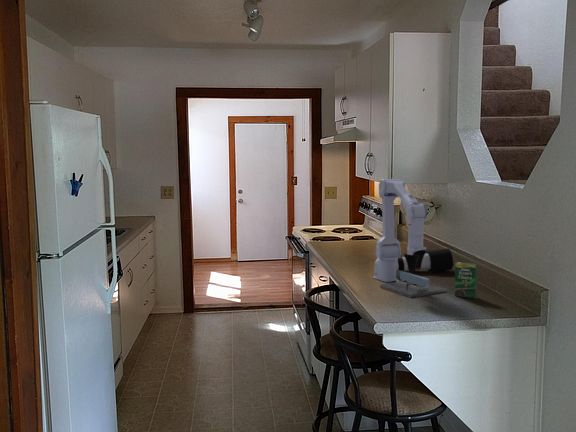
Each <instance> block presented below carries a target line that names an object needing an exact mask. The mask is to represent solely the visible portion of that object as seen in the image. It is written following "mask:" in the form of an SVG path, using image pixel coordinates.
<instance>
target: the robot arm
mask: <svg viewBox="0 0 576 432" xmlns="http://www.w3.org/2000/svg"><path fill="white" fill-rule="evenodd" d="M378 198H380V199H381V202H382V203H381V207H382V209H381V210H382V213H381V215H382V217H381V219H382V237H380V238H379V239H378V240H377V241H376V246H375V256H376V260H375V261H374V271H373V272H374V276H372V279H375V280H376V279H377V280H378V281H379V280H380V281H382V282H385V283H391V282H397V278H396V260H398V258H401V255H402V248H401V243H400V240H399V239H397V238H396V237H395V200H396V199H398V198H399V200H400V204H401V205H402V207H403V208H404V210H405V211H406V212H405V215H406V222H407V224H408V229H407V231H408V233H407V235H408V236H407V249H406V250H407V253H406V252H405V253H403V257H405V259H406V261H407V265H408V270H409V271H408V273H412V274H413V273H415V272H416V271H417V270H416V268H417V269H420V268H421V264H422V260H423V257H424V255H425V253H426V251H427V247H426V246H424V233H425V232H424V229H425V220H426V218H427V216H428V207H427V205H426V204H425V203H420V202H419V200H417V198H416V197H415V196H414V195H413V193H409V192H408V190H407V189H406V182H405V180H404V178H381V179H380V181H379V183H378Z"/></svg>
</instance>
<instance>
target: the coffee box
mask: <svg viewBox="0 0 576 432" xmlns="http://www.w3.org/2000/svg"><path fill="white" fill-rule="evenodd" d="M454 267H455V268H454V297H459V296H460V297H461V298H469V299H476V298H477V292H478V291H477V289H478V286H477V285H478V284H477V283H478V263H470V262H469V263H468V262H458V261H456V262H455V263H454Z"/></svg>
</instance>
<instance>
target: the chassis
mask: <svg viewBox="0 0 576 432" xmlns="http://www.w3.org/2000/svg"><path fill="white" fill-rule="evenodd" d="M379 286H380V288H381V289H384V290H387V291H390V292H392V293H396V294H398V295H401V296H404V297H408V298H409V299H410V298H411V299H412V298H417V297H423V296H427V295H433V294H440V293H444V292H447V290H448V289H447V287H446V288H445V287H443V286H441V285H440V286H439V285H437V284H433V283H430V282H429V286H426V287H425V286H421V285H418V284H415V283H412V282H408V281H405V280H402V279H397V281H392V282H386V283H382V284H380V285H379Z"/></svg>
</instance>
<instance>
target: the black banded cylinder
mask: <svg viewBox="0 0 576 432" xmlns="http://www.w3.org/2000/svg"><path fill="white" fill-rule="evenodd" d="M453 268H454V257H453V254H452V251H451V249H450V248H448V247H447V248H440V249H430V250H429V249H428V250H426V253H425V255H424V257H423V260H422V264H421V268H420V269H417V268H416V270H415V271H424V270H425V271H428V272H429V273H435V272H442V271H443V272H445V271H451V270H453ZM397 270H401V271H404V272H407V271H408V272H409V270H408V265H407V261H406V259H405V257H404V256H402V257H401V256H400V257H399V258H398V260H396V271H397Z"/></svg>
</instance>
